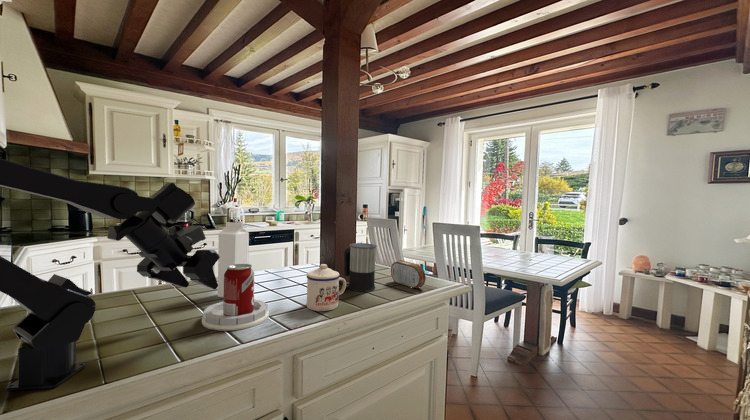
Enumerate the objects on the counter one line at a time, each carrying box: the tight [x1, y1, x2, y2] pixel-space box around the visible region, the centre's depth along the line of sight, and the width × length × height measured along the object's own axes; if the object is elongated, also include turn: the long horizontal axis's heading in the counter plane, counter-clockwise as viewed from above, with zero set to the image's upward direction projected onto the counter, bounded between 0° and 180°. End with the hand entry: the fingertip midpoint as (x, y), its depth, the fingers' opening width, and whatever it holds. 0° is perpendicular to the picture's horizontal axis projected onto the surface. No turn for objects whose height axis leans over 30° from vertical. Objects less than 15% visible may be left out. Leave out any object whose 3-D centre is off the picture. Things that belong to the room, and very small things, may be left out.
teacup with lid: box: [306, 263, 347, 312], centre depth 88 cm, size 12×9×12 cm
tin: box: [390, 259, 426, 289], centre depth 112 cm, size 15×3×8 cm, turn 40°
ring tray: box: [201, 298, 270, 332], centre depth 77 cm, size 15×15×2 cm
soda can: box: [222, 263, 255, 316], centre depth 76 cm, size 7×7×12 cm
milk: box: [217, 221, 250, 299], centre depth 95 cm, size 6×6×22 cm
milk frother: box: [338, 242, 378, 292], centre depth 105 cm, size 14×16×15 cm
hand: (201, 286), depth 72 cm, fingers open, 9 cm apart
